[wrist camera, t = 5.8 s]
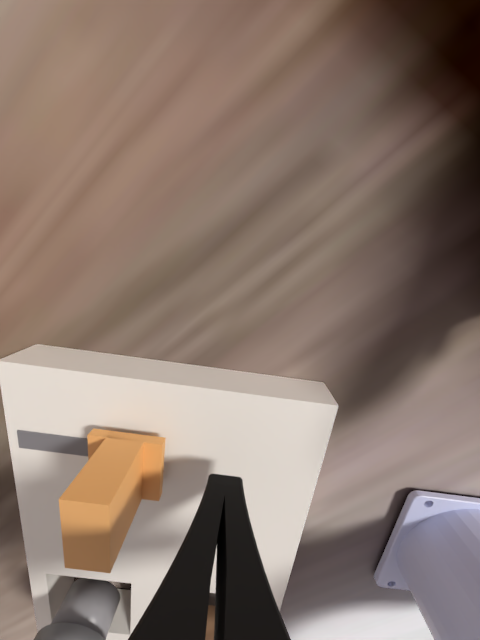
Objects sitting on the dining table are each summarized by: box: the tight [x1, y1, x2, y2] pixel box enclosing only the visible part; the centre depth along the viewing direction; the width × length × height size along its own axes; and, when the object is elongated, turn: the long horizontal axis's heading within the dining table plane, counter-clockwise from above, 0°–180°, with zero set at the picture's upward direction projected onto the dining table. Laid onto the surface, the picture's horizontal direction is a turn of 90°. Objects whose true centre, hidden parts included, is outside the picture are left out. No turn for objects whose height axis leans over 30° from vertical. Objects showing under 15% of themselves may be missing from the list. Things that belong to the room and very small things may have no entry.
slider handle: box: [59, 428, 166, 573], centre depth 9 cm, size 3×3×3 cm
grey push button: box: [34, 578, 120, 640], centre depth 13 cm, size 4×4×4 cm
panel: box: [0, 344, 339, 640], centre depth 14 cm, size 15×20×2 cm
